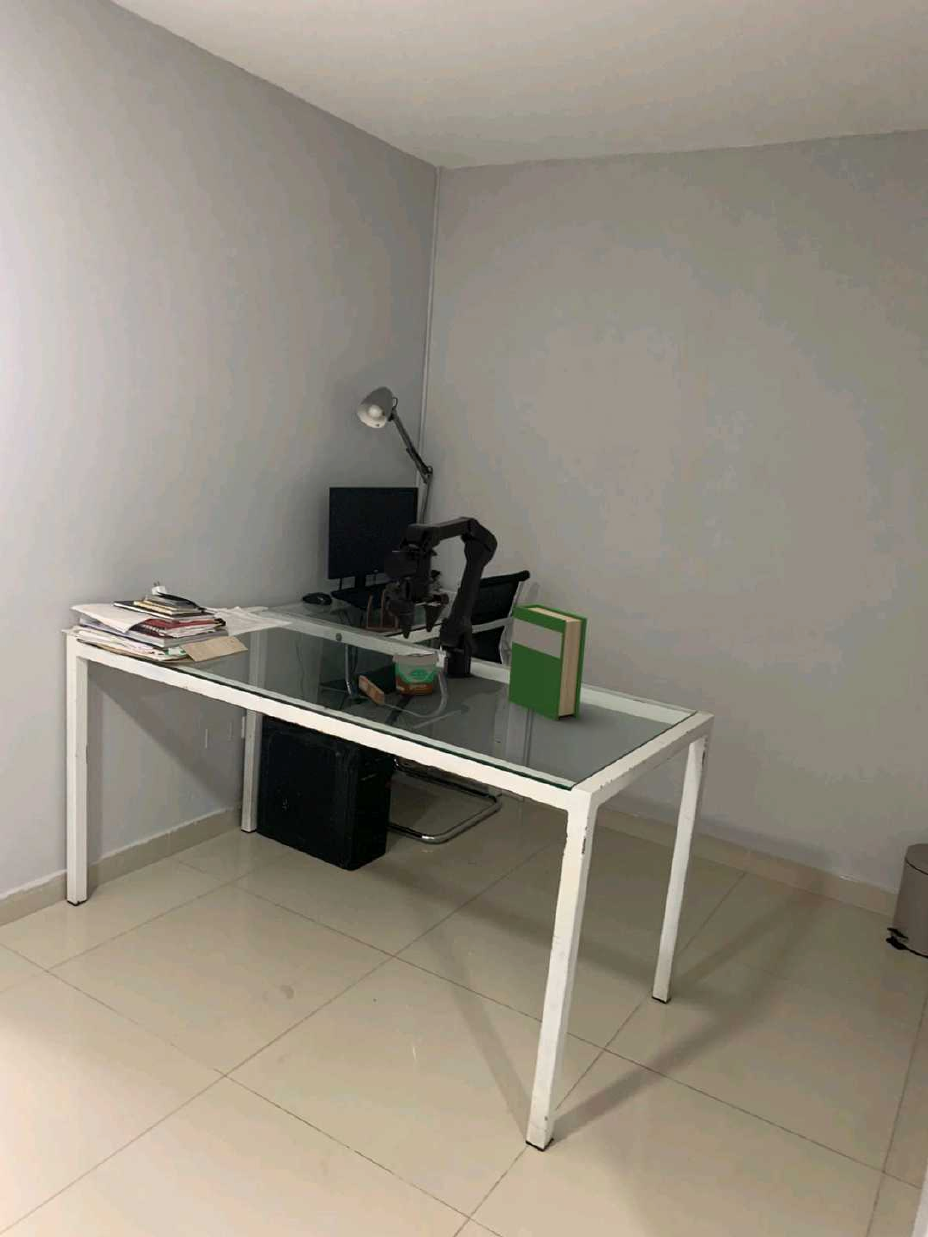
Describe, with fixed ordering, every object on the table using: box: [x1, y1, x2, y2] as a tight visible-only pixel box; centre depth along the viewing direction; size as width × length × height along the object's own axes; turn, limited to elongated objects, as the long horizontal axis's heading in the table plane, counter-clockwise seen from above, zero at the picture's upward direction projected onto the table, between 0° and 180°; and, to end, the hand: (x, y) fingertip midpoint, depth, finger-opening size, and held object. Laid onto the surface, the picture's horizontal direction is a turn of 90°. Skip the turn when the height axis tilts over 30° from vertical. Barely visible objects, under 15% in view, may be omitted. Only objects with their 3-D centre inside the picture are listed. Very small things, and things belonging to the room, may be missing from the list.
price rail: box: [358, 675, 386, 707], centre depth 227 cm, size 1×16×3 cm, turn 25°
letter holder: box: [365, 581, 400, 632], centre depth 306 cm, size 10×20×14 cm, turn 2°
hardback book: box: [507, 603, 588, 722], centre depth 224 cm, size 18×7×24 cm, turn 36°
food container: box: [391, 649, 440, 696], centre depth 232 cm, size 12×6×10 cm, turn 117°
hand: (417, 635), depth 236 cm, fingers open, 9 cm apart
